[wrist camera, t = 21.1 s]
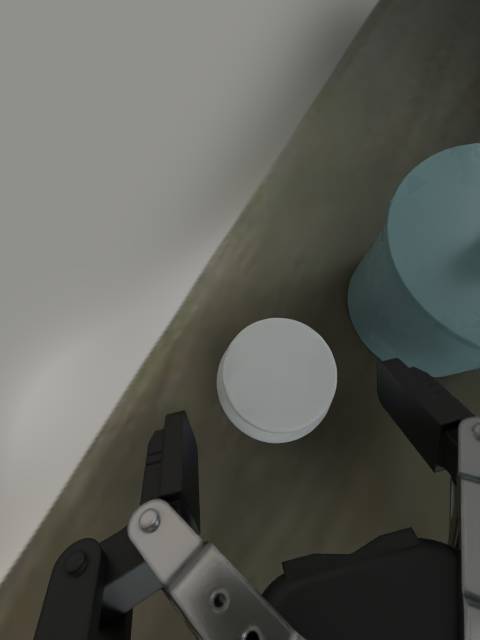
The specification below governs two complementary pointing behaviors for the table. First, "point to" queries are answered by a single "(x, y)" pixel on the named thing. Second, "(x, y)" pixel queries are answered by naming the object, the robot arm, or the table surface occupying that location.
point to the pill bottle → (277, 380)
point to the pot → (425, 269)
